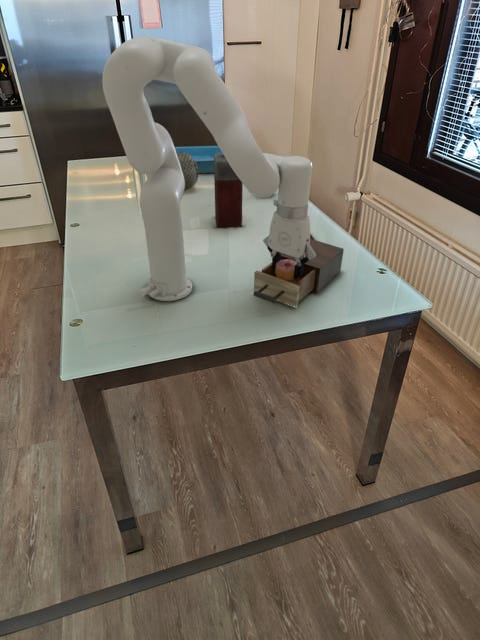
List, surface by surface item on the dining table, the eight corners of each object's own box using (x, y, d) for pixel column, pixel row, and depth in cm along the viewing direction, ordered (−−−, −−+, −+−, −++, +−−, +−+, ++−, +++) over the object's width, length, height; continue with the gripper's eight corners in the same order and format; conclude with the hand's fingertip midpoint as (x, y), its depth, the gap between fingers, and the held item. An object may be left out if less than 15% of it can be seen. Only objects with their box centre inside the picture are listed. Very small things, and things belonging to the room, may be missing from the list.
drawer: (284, 318, 117) (286, 297, 113) (241, 301, 123) (241, 280, 120) (320, 286, 130) (322, 266, 126) (279, 272, 136) (280, 253, 132)
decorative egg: (194, 195, 188) (192, 157, 179) (167, 193, 190) (163, 155, 181) (201, 185, 197) (200, 149, 189) (175, 183, 199) (172, 147, 190)
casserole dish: (152, 177, 205) (150, 161, 201) (153, 161, 223) (152, 146, 219) (235, 174, 209) (235, 158, 204) (230, 159, 227) (230, 144, 222)
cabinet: (317, 294, 128) (320, 268, 123) (272, 278, 135) (274, 253, 130) (340, 272, 138) (343, 248, 133) (297, 259, 145) (299, 235, 140)
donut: (301, 273, 126) (303, 263, 124) (290, 282, 122) (291, 272, 120) (283, 266, 129) (283, 257, 127) (271, 275, 125) (272, 265, 123)
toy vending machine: (238, 214, 172) (239, 135, 156) (242, 227, 163) (243, 145, 147) (214, 215, 172) (212, 136, 155) (216, 227, 163) (215, 145, 146)
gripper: (254, 205, 116) (252, 268, 126) (316, 223, 108) (308, 289, 118) (271, 197, 121) (267, 258, 131) (330, 213, 113) (321, 277, 123)
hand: (286, 272), depth 125 cm, fingers closed on donut, 6 cm apart
